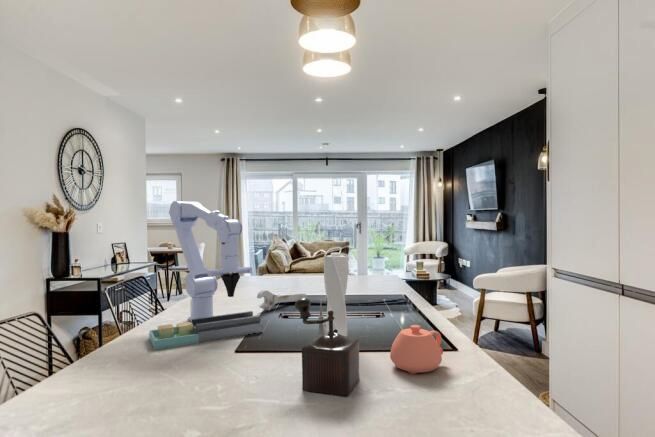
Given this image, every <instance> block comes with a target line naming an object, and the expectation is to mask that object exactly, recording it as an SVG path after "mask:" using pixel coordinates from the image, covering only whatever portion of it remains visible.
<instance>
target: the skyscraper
mask: <svg viewBox="0 0 655 437" xmlns="http://www.w3.org/2000/svg"><path fill="white" fill-rule="evenodd" d="M335 249H339V252H331V253H330V255H327V254H328V253H329V251H332V250H335ZM342 249H343V248H342V247H341V246H333V247H330V248H328V249H327V250H326V252H325V253H324V255H323V279H324V289H325V295H326V296H325V298H326V300H327V301H326V302H327V303H326V317H325V316H324V315H323V306H322V300H320V301H319V302H320V306H319V315H318V320H322V319H327V318H328V311H330V310H332V311H333V312H334V314H333V317H334V320H333V331H334V330H335V329H337V330H338V332H337V333H338V334H340V335H343V336H347V337H349V336H348V318H347V307H346V299H345V298H346V294H347V287H348V277H349V255H348V253H342ZM324 324H325V327H324ZM317 332H318V335H324V334H326V333H327V332H329V321H327V322H325V323H320V324H318V331H317Z"/></svg>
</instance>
